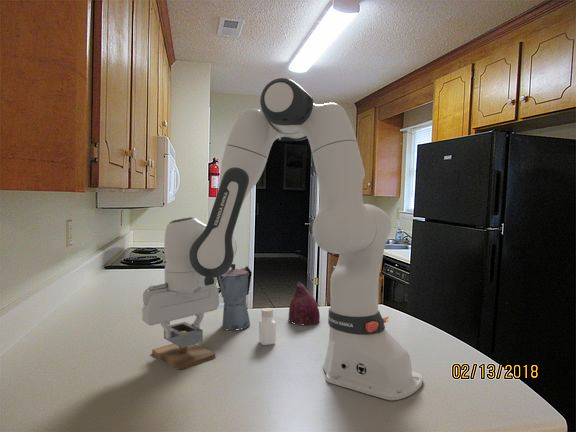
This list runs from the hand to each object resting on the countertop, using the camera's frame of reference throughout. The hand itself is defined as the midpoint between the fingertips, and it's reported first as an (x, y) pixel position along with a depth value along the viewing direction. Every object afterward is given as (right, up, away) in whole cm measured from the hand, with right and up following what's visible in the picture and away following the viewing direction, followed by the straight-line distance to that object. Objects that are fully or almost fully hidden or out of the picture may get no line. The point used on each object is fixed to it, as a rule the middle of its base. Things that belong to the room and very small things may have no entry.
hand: (183, 333), depth 98 cm
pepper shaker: (+21, -5, +8) cm, 24 cm away
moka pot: (+11, -5, +23) cm, 26 cm away
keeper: (0, -6, 0) cm, 6 cm away
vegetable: (+33, -5, +28) cm, 43 cm away
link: (0, -2, 0) cm, 2 cm away
